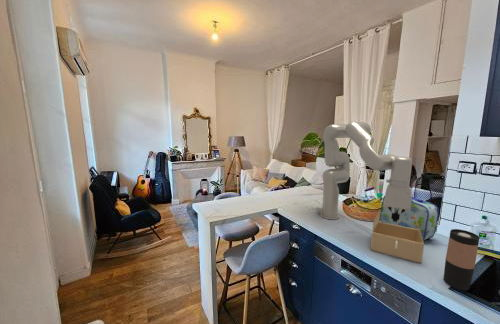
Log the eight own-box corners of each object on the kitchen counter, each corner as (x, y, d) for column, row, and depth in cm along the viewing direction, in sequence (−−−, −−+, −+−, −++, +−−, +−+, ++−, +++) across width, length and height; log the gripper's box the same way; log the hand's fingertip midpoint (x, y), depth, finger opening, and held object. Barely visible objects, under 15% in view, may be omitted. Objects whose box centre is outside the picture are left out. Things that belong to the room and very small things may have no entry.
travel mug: (438, 274, 85) (445, 227, 82) (462, 278, 83) (470, 230, 80) (449, 288, 78) (458, 237, 75) (476, 293, 76) (486, 240, 73)
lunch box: (438, 241, 111) (444, 202, 107) (424, 245, 107) (430, 205, 104) (390, 221, 135) (393, 188, 131) (377, 223, 131) (381, 190, 128)
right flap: (417, 225, 92) (419, 225, 92) (414, 215, 103) (415, 215, 103) (421, 241, 92) (423, 241, 92) (418, 229, 103) (419, 229, 103)
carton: (370, 252, 100) (371, 234, 99) (372, 236, 116) (373, 220, 114) (422, 266, 90) (425, 247, 89) (416, 246, 106) (419, 229, 104)
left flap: (373, 231, 102) (372, 230, 102) (375, 221, 113) (373, 220, 113) (380, 218, 99) (379, 218, 100) (381, 209, 110) (379, 209, 111)
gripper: (380, 182, 100) (376, 220, 103) (420, 187, 92) (415, 227, 95) (380, 179, 106) (377, 214, 109) (418, 183, 98) (413, 221, 101)
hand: (394, 220), depth 102 cm, fingers closed
